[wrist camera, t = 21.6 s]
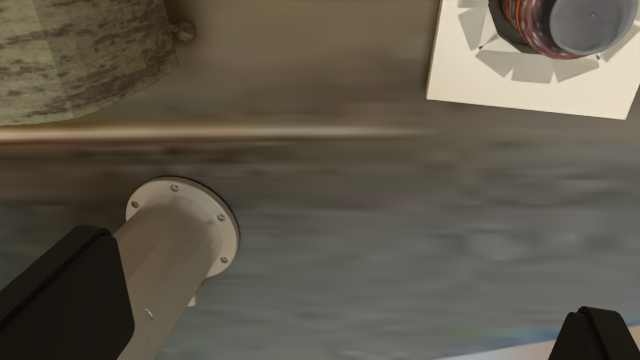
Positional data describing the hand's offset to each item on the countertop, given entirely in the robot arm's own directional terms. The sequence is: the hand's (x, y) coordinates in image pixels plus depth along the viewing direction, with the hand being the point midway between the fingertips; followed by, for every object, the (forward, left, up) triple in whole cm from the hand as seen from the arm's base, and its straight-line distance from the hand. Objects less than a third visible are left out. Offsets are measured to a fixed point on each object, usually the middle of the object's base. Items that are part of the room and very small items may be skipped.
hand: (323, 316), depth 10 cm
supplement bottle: (+4, -10, -31) cm, 32 cm away
